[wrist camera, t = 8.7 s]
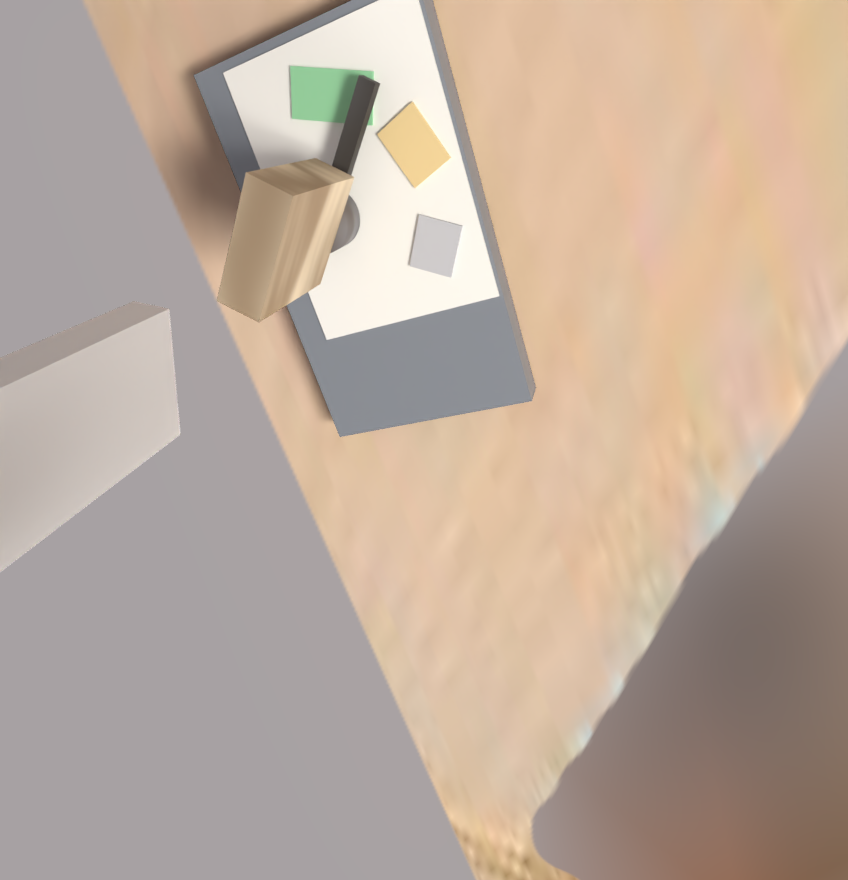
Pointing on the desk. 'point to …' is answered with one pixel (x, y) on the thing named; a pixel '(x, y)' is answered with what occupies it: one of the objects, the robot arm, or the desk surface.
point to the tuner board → (383, 215)
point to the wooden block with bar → (294, 221)
